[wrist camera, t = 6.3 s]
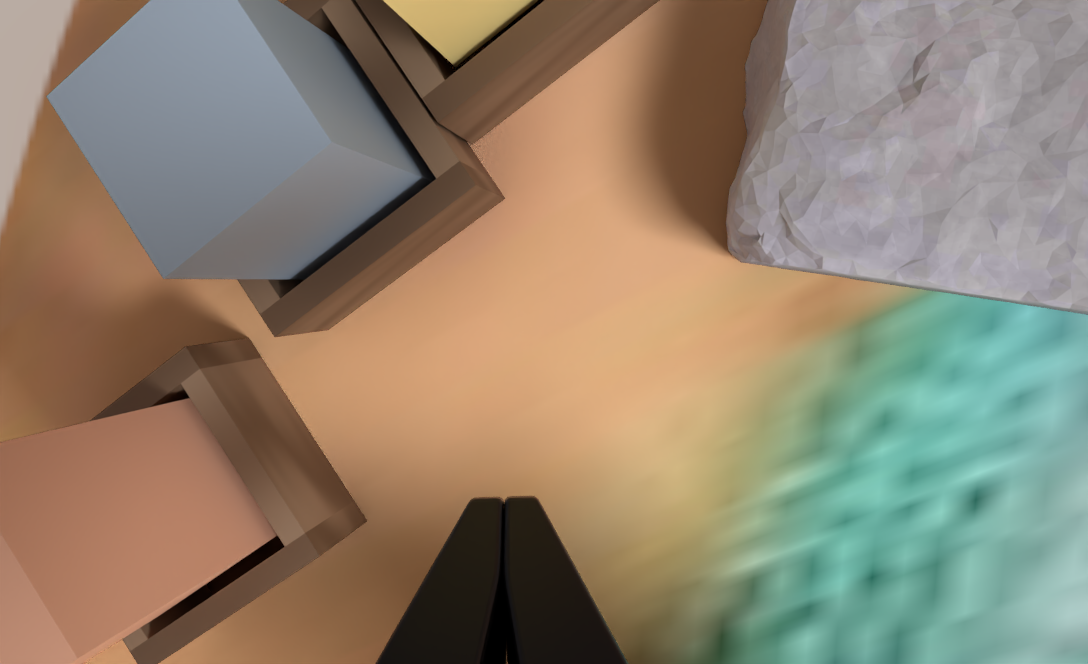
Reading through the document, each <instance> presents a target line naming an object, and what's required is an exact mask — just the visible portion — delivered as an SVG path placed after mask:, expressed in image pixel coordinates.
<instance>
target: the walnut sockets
mask: <svg viewBox="0 0 1088 664" xmlns="http://www.w3.org/2000/svg"><path fill="white" fill-rule="evenodd" d="M658 1H659V0H544V1H543V2H542V3H541V4H539V5H538V6H537V7H536V8H534V9H533V10H532V11H531V12H529V13H528V14H527V15H526V16H524V17H523V18H522V19H521V20H519V21H518V22H517V23H516V24H514V25H513V26H512V27H511V28H509V29H508V30H507V31H506V32H504V33H503V34H502V35H501V36H499V37H498V38H497V39H496V40H494V41H493V42H492V43H491V44H489V45H488V46H487V47H486V48H484V49H483V50H482V51H481V52H479V53H478V54H477V55H476V56H474V57H473V58H472V59H471V60H469V61H468V62H467V63H466V64H464V65H463V66H462V67H461V68H459V69H458V70H457V71H456V72H454V71H453V70H452V69H451V67H450V66H449V64H448V63H447V61H446V60H445V58H444V57H443V55H442V54H441V53H440V52H439V51H437V50H436V49H435V48H434V47H433V46H432V45H431V44H430V43H429V42H428V41H427V40H425V39H424V38H423V37H422V36H421V35H420V34H419V33H418V32H417V31H416V30H415V29H414V28H412V27H411V26H410V25H409V24H408V23H407V22H406V21H405V20H404V19H403V18H402V17H400V16H399V15H398V14H397V13H396V12H395V11H394V10H393V9H392V8H391V7H390V6H388V5H387V4H386V3H385V2H384V1H383V0H287V1H286V2H285V3H284V5H285V6H286V7H288V8H289V9H291V10H292V11H294V12H295V13H297V14H298V15H300V16H301V17H303V18H304V19H305V20H307V21H308V22H310V23H311V24H313V25H314V26H316V27H317V28H319V29H320V30H322V31H323V32H325V33H326V34H327V35H329V36H330V37H332V38H333V39H335V40H336V41H338V42H339V43H341V44H342V45H344V46H345V47H346V48H348V49H349V50H350V51H351V52H352V54H353V55H354V57H355V58H356V60H357V61H358V63H359V64H360V66H361V67H362V69H363V70H364V72H365V73H366V75H367V76H368V78H369V79H370V81H371V82H372V83H373V85H374V86H375V88H376V89H377V91H378V92H379V94H380V95H381V97H382V98H383V100H384V101H385V103H386V104H387V106H388V107H389V109H390V110H391V112H392V113H393V115H394V116H395V118H396V119H397V121H398V122H399V124H400V125H401V127H402V128H403V130H404V131H405V133H406V134H407V136H408V137H409V139H410V140H411V141H412V143H413V144H414V146H415V147H416V149H417V150H418V152H419V153H420V155H421V156H422V158H423V159H424V161H425V162H426V164H427V165H428V167H429V168H430V170H431V171H432V173H433V174H434V176H435V177H436V179H435V180H434V181H433V182H431V183H430V184H429V185H428V186H426V187H425V188H424V189H422V190H421V191H420V192H418V193H417V194H416V195H415V196H413V197H412V198H411V199H409V200H408V201H407V202H405V203H404V204H403V205H401V206H400V207H399V208H398V209H396V210H395V211H394V212H392V213H391V214H390V215H388V216H387V217H386V218H385V219H383V220H382V221H381V222H379V223H378V224H377V225H375V226H374V227H373V228H372V229H370V230H369V231H368V232H366V233H365V234H364V235H362V236H361V237H360V238H359V239H357V240H356V241H355V242H353V243H352V244H351V245H349V246H348V247H347V248H346V249H344V250H343V251H342V252H340V253H339V254H338V255H336V256H335V257H334V258H333V259H331V260H330V261H329V262H327V263H326V264H325V265H323V266H322V267H321V268H320V269H318V270H317V271H316V272H314V273H313V274H312V275H310V276H309V277H308V278H307V279H305V280H296V279H237V280H238V281H239V283H240V284H241V286H242V287H243V289H244V291H245V292H246V294H247V295H248V297H249V298H250V300H251V301H252V303H253V304H254V306H255V308H256V309H257V311H258V312H259V314H260V315H261V317H262V318H263V320H264V321H265V323H266V324H267V326H268V328H269V329H270V331H271V332H272V334H273V335H274V337H279V336H287V335H294V334H302V333H309V332H317V331H324V330H329V329H330V328H331V327H333V326H334V325H335V324H337V323H338V322H339V321H341V320H342V319H344V318H345V317H346V316H348V315H349V314H350V313H352V312H353V311H354V310H356V309H357V308H358V307H360V306H361V305H362V304H364V303H365V302H366V301H368V300H369V299H370V298H372V297H373V296H374V295H376V294H377V293H378V292H380V291H381V290H383V289H384V288H385V287H387V286H388V285H389V284H391V283H392V282H393V281H395V280H396V279H397V278H399V277H400V276H401V275H403V274H404V273H405V272H407V271H408V270H409V269H411V268H412V267H413V266H415V265H416V264H417V263H419V262H420V261H422V260H423V259H424V258H426V257H427V256H428V255H430V254H431V253H432V252H434V251H435V250H436V249H438V248H439V247H440V246H442V245H443V244H444V243H446V242H447V241H448V240H450V239H451V238H452V237H454V236H455V235H456V234H458V233H459V232H461V231H462V230H463V229H465V228H466V227H467V226H469V225H470V224H471V223H473V222H474V221H475V220H477V219H478V218H479V217H481V216H482V215H483V214H485V213H486V212H487V211H489V210H490V209H491V208H493V207H494V206H495V205H497V204H498V203H500V202H501V201H502V200H504V199H505V198H504V196H503V195H502V193H501V192H500V190H499V189H498V187H497V186H496V184H495V183H494V181H493V180H492V178H491V177H490V175H489V174H488V172H487V171H486V169H485V168H484V167H483V165H482V164H481V162H480V161H479V159H478V158H477V156H476V155H475V153H474V152H473V150H472V149H471V147H470V146H469V144H468V143H467V141H468V142H469V143H471V144H473V143H475V142H476V141H477V140H479V139H480V138H481V137H482V136H484V135H485V134H486V133H488V132H489V131H490V130H492V129H493V128H494V127H495V126H497V125H498V124H499V123H501V122H502V121H503V120H505V119H506V118H507V117H508V116H510V115H511V114H512V113H514V112H515V111H516V110H517V109H519V108H520V107H521V106H523V105H524V104H525V103H527V102H528V101H529V100H530V99H532V98H533V97H534V96H536V95H537V94H538V93H540V92H541V91H542V90H543V89H545V88H546V87H547V86H549V85H550V84H551V83H553V82H554V81H555V80H556V79H558V78H559V77H560V76H562V75H563V74H564V73H566V72H567V71H568V70H569V69H571V68H572V67H573V66H575V65H576V64H577V63H578V62H580V61H581V60H582V59H584V58H585V57H586V56H588V55H589V54H590V53H591V52H593V51H594V50H595V49H597V48H598V47H599V46H601V45H602V44H603V43H604V42H606V41H607V40H608V39H610V38H611V37H612V36H614V35H615V34H616V33H617V32H619V31H620V30H621V29H623V28H624V27H625V26H626V25H628V24H629V23H630V22H632V21H633V20H634V19H636V18H637V17H638V16H639V15H641V14H642V13H643V12H645V11H646V10H647V9H649V8H650V7H651V6H652V5H654V4H655V3H656V2H658ZM188 398H190V399H191V400H192V402H193V403H194V405H195V407H196V408H197V410H198V411H199V413H200V414H201V416H202V418H203V419H204V421H205V422H206V424H207V425H208V427H209V428H210V430H211V432H212V433H213V435H214V436H215V438H216V439H217V441H218V443H219V444H220V446H221V447H222V449H223V450H224V452H225V454H226V455H227V457H228V458H229V460H230V461H231V463H232V465H233V466H234V468H235V469H236V471H237V472H238V474H239V476H240V477H241V479H242V480H243V482H244V483H245V485H246V487H247V488H248V490H249V491H250V493H251V494H252V496H253V498H254V499H255V501H256V502H257V504H258V505H259V507H260V508H261V510H262V512H263V513H264V515H265V516H266V518H267V519H268V521H269V523H270V524H271V526H272V527H273V529H274V530H275V532H276V534H277V535H278V537H279V538H280V540H281V541H282V543H283V545H284V546H285V547H284V548H282V549H281V550H279V551H278V552H276V553H275V554H273V555H272V556H270V557H269V558H267V559H266V560H264V561H263V562H262V563H260V564H259V565H257V566H256V567H254V568H253V569H251V570H250V571H248V572H247V573H245V574H244V575H242V576H241V577H239V578H238V579H236V580H235V581H233V582H232V583H230V584H229V585H227V586H226V587H224V588H223V589H222V590H220V591H219V592H217V593H216V594H214V595H212V593H211V591H210V590H209V588H208V587H207V585H206V584H205V585H204V586H202V587H201V588H200V589H198V590H197V591H195V592H194V593H192V594H191V595H189V596H188V597H186V598H185V599H183V600H182V601H180V602H179V603H178V604H176V605H175V606H173V607H172V608H170V609H169V610H167V611H166V612H164V613H163V614H161V615H160V616H158V617H156V618H155V619H153V620H152V621H150V622H148V623H147V624H145V625H144V626H142V627H141V628H139V629H137V630H136V631H134V632H133V633H131V634H129V635H128V636H126V637H125V638H123V641H124V643H125V644H126V646H127V647H128V649H129V651H130V652H131V654H132V656H133V657H134V659H135V660H136V662H137V664H158V663H159V662H161V661H162V660H164V659H165V658H167V657H168V656H170V655H171V654H173V653H174V652H176V651H178V650H179V649H181V648H182V647H184V646H185V645H187V644H188V643H190V642H191V641H193V640H194V639H196V638H197V637H199V636H200V635H202V634H203V633H205V632H206V631H208V630H209V629H211V628H212V627H214V626H215V625H217V624H218V623H220V622H221V621H223V620H224V619H226V618H227V617H229V616H230V615H232V614H233V613H235V612H236V611H238V610H239V609H241V608H242V607H244V606H245V605H247V604H248V603H250V602H251V601H253V600H254V599H256V598H257V597H259V596H260V595H262V594H263V593H265V592H266V591H268V590H269V589H271V588H273V587H274V586H276V585H277V584H279V583H280V582H282V581H283V580H285V579H286V578H288V577H289V576H291V575H292V574H294V573H295V572H297V571H298V570H300V569H301V568H303V567H304V566H306V565H307V564H309V563H310V562H312V561H313V560H315V559H316V558H318V557H319V556H321V555H322V554H323V553H325V552H326V551H327V550H329V549H330V548H331V547H333V546H334V545H335V544H337V543H338V542H339V541H341V540H342V539H344V538H345V537H346V536H348V535H349V534H350V533H352V532H353V531H354V530H356V529H357V528H358V527H360V526H361V525H362V524H364V523H365V522H366V521H367V520H366V519H365V517H364V516H363V514H362V513H361V511H360V510H359V508H358V506H357V505H356V503H355V502H354V500H353V499H352V497H351V496H350V494H349V493H348V491H347V489H346V488H345V486H344V485H343V483H342V482H341V480H340V479H339V477H338V476H337V474H336V472H335V471H334V469H333V468H332V466H331V465H330V463H329V462H328V460H327V458H326V457H325V455H324V454H323V452H322V451H321V449H320V448H319V446H318V445H317V443H316V441H315V440H314V438H313V437H312V435H311V434H310V432H309V431H308V429H307V428H306V426H305V424H304V423H303V421H302V420H301V418H300V417H299V415H298V414H297V412H296V411H295V409H294V407H293V406H292V404H291V403H290V401H289V400H288V398H287V397H286V395H285V393H284V392H283V390H282V389H281V387H280V386H279V384H278V383H277V381H276V380H275V378H274V376H273V375H272V373H271V372H270V370H269V369H268V367H267V366H266V364H265V363H264V361H263V359H262V358H261V356H260V355H259V353H258V352H257V350H256V349H255V347H254V346H253V344H252V342H251V341H250V339H249V338H248V339H240V340H232V341H225V342H217V343H209V344H201V345H194V346H186V347H184V348H183V349H182V350H180V351H179V352H178V353H177V354H175V355H174V356H173V357H171V358H170V359H169V360H168V361H166V362H165V363H164V364H162V365H161V366H160V367H159V368H157V369H156V370H155V371H153V372H152V373H151V374H150V375H148V376H147V377H146V378H144V379H143V380H142V381H141V382H139V383H138V384H137V385H135V386H134V387H133V388H132V389H130V390H129V391H128V392H126V393H125V394H124V395H123V396H121V397H120V398H119V399H117V400H116V401H115V402H114V403H112V404H111V405H110V406H108V407H107V408H106V409H105V410H103V411H102V412H101V413H99V414H98V415H97V416H96V417H94V418H93V419H92V420H90V421H93V420H98V419H102V418H106V417H111V416H115V415H119V414H123V413H128V412H132V411H136V410H141V409H145V408H149V407H153V406H158V405H162V404H166V403H171V402H175V401H179V400H183V399H188Z"/></svg>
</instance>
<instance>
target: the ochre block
mask: <svg viewBox="0 0 1088 664" xmlns="http://www.w3.org/2000/svg"><path fill="white" fill-rule="evenodd" d="M383 1H384V2H385V3H386V4H387V5H388V6H390V7H391V8H392V9H393V10H394V11H395V12H396V13H397V14H398V15H399V16H400V17H402V18H403V19H404V20H405V21H406V22H407V23H408V24H409V25H410V26H411V27H412V28H414V29H415V30H416V31H417V32H418V33H419V34H420V35H421V36H422V37H423V38H424V39H425V40H427V41H428V42H429V43H430V44H431V45H432V46H433V47H434V48H435V49H436V50H437V51H439V52H440V53H441V54H442V55H443V56H444V57H445V58H446V59H447V60H448V61H449V62H451V63H452V64H453V65H454V66H455V67H456V66H457V65H459V64H460V63H461V62H462V61H464V60H465V59H466V58H467V57H469V56H470V55H471V54H472V53H474V52H475V51H476V50H477V49H479V48H480V47H481V46H482V45H484V44H485V43H486V42H487V41H488V40H490V39H491V38H492V37H493V36H495V35H496V34H497V33H498V32H500V31H501V30H502V29H503V28H505V27H506V26H507V25H508V24H510V23H511V22H512V21H513V20H515V19H516V18H517V17H518V16H520V15H521V14H522V13H523V12H525V11H526V10H527V9H528V8H530V7H531V6H532V5H533V4H535V3H536V2H537V1H538V0H383Z"/></svg>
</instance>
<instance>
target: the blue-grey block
mask: <svg viewBox="0 0 1088 664" xmlns="http://www.w3.org/2000/svg"><path fill="white" fill-rule="evenodd" d="M46 97H47V98H48V100H49V101H50V103H51V105H52V106H53V108H54V109H55V111H56V112H57V114H58V115H59V117H60V119H61V120H62V122H63V123H64V125H65V126H66V128H67V129H68V131H69V133H70V134H71V136H72V137H73V139H74V140H75V142H76V143H77V145H78V147H79V148H80V150H81V151H82V153H83V154H84V156H85V158H86V159H87V161H88V162H89V164H90V165H91V167H92V168H93V170H94V172H95V173H96V175H97V176H98V178H99V179H100V181H101V182H102V184H103V186H104V187H105V189H106V190H107V192H108V193H109V195H110V196H111V198H112V200H113V201H114V203H115V204H116V206H117V207H118V209H119V210H120V212H121V214H122V215H123V217H124V218H125V220H126V221H127V223H128V224H129V226H130V228H131V229H132V231H133V232H134V234H135V235H136V237H137V238H138V240H139V242H140V243H141V245H142V246H143V248H144V249H145V251H146V253H147V254H148V256H149V257H150V259H151V260H152V262H153V263H154V265H155V267H156V268H157V270H158V271H159V273H160V274H161V276H162V277H163V279H296V280H305V279H307V278H308V277H309V276H310V275H312V274H313V273H314V272H316V271H317V270H318V269H320V268H321V267H322V266H323V265H325V264H326V263H327V262H329V261H330V260H331V259H333V258H334V257H335V256H336V255H338V254H339V253H340V252H342V251H343V250H344V249H346V248H347V247H348V246H349V245H351V244H352V243H353V242H355V241H356V240H357V239H359V238H360V237H361V236H362V235H364V234H365V233H366V232H368V231H369V230H370V229H372V228H373V227H374V226H375V225H377V224H378V223H379V222H381V221H382V220H383V219H385V218H386V217H387V216H388V215H390V214H391V213H392V212H394V211H395V210H396V209H398V208H399V207H400V206H401V205H403V204H404V203H405V202H407V201H408V200H409V199H411V198H412V197H413V196H415V195H416V194H417V193H418V192H420V191H421V190H422V189H424V188H425V187H426V186H428V185H429V184H430V183H431V182H433V181H434V180H435V179H436V177H435V176H434V174H433V173H432V171H431V170H430V168H429V167H428V165H427V164H426V162H425V161H424V159H423V158H422V156H421V155H420V153H419V152H418V150H417V149H416V147H415V146H414V144H413V143H412V141H411V140H410V139H409V137H408V136H407V134H406V133H405V131H404V130H403V128H402V127H401V125H400V124H399V122H398V121H397V119H396V118H395V116H394V115H393V113H392V112H391V110H390V109H389V107H388V106H387V104H386V103H385V101H384V100H383V98H382V97H381V95H380V94H379V92H378V91H377V89H376V88H375V86H374V85H373V83H372V82H371V81H370V79H369V78H368V76H367V75H366V73H365V72H364V70H363V69H362V67H361V66H360V64H359V63H358V61H357V60H356V58H355V57H354V55H353V54H352V52H351V51H350V50H349V49H348V48H346V47H345V46H344V45H342V44H341V43H339V42H338V41H336V40H335V39H333V38H332V37H330V36H329V35H327V34H326V33H325V32H323V31H322V30H320V29H319V28H317V27H316V26H314V25H313V24H311V23H310V22H308V21H307V20H305V19H304V18H303V17H301V16H300V15H298V14H297V13H295V12H294V11H292V10H291V9H289V8H288V7H286V6H285V5H284V4H282V3H281V2H279V1H278V0H150V1H149V2H148V3H147V4H146V5H145V6H144V7H142V8H141V9H140V10H139V11H138V12H137V13H136V14H135V15H134V16H133V17H132V18H131V19H129V20H128V21H127V22H126V23H125V24H124V25H123V26H122V27H121V28H120V29H119V30H118V31H116V32H115V33H114V34H113V35H112V36H111V37H110V38H109V39H108V40H107V41H106V42H105V43H104V44H102V45H101V46H100V47H99V48H98V49H97V50H96V51H95V52H94V53H93V54H92V55H91V56H89V57H88V58H87V59H86V60H85V61H84V62H83V63H82V64H81V65H80V66H79V67H78V68H76V69H75V70H74V71H73V72H72V73H71V74H70V75H69V76H68V77H67V78H66V79H65V80H63V81H62V82H61V83H60V84H59V85H58V86H57V87H56V88H55V89H54V90H53V91H52V92H50V93H49V94H48V95H47V96H46Z"/></svg>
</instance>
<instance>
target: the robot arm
mask: <svg viewBox="0 0 1088 664" xmlns="http://www.w3.org/2000/svg"><path fill="white" fill-rule="evenodd" d="M507 662H508V664H628V662H627V661H626V659H625V657H624V655H623V653H622V651H621V650H620V648H619V646H618V644H617V642H616V640H615V639H614V637H613V635H612V633H611V631H610V629H609V628H608V626H607V624H606V622H605V620H604V618H603V617H602V615H601V613H600V611H599V609H598V607H597V606H596V604H595V602H594V600H593V598H592V596H591V595H590V593H589V591H588V589H587V587H586V585H585V584H584V582H583V580H582V578H581V576H580V574H579V573H578V571H577V569H576V567H575V565H574V563H573V562H572V560H571V558H570V556H569V554H568V552H567V551H566V549H565V547H564V545H563V543H562V541H561V540H560V538H559V536H558V534H557V532H556V530H555V529H554V527H553V525H552V523H551V521H550V519H549V518H548V516H547V514H546V512H545V510H544V508H543V507H542V505H541V503H540V501H539V500H538V499H537V498H536V497H535V496H511V497H507V498H506V499H505V502H504V501H503V499H502V498H500V497H478V498H473V499H471V500H470V502H469V503H468V504H467V506H466V508H465V510H464V511H463V513H462V515H461V517H460V518H459V520H458V522H457V523H456V525H455V527H454V529H453V530H452V532H451V534H450V536H449V537H448V539H447V541H446V542H445V544H444V546H443V548H442V549H441V551H440V553H439V555H438V556H437V558H436V560H435V561H434V563H433V565H432V567H431V568H430V570H429V572H428V574H427V575H426V577H425V579H424V580H423V582H422V584H421V586H420V587H419V589H418V591H417V593H416V594H415V596H414V598H413V600H412V601H411V603H410V605H409V606H408V608H407V610H406V612H405V613H404V615H403V617H402V619H401V620H400V622H399V624H398V625H397V627H396V629H395V631H394V632H393V634H392V636H391V638H390V639H389V641H388V643H387V644H386V646H385V648H384V650H383V651H382V653H381V655H380V657H379V658H378V660H377V662H376V663H375V664H507Z"/></svg>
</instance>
